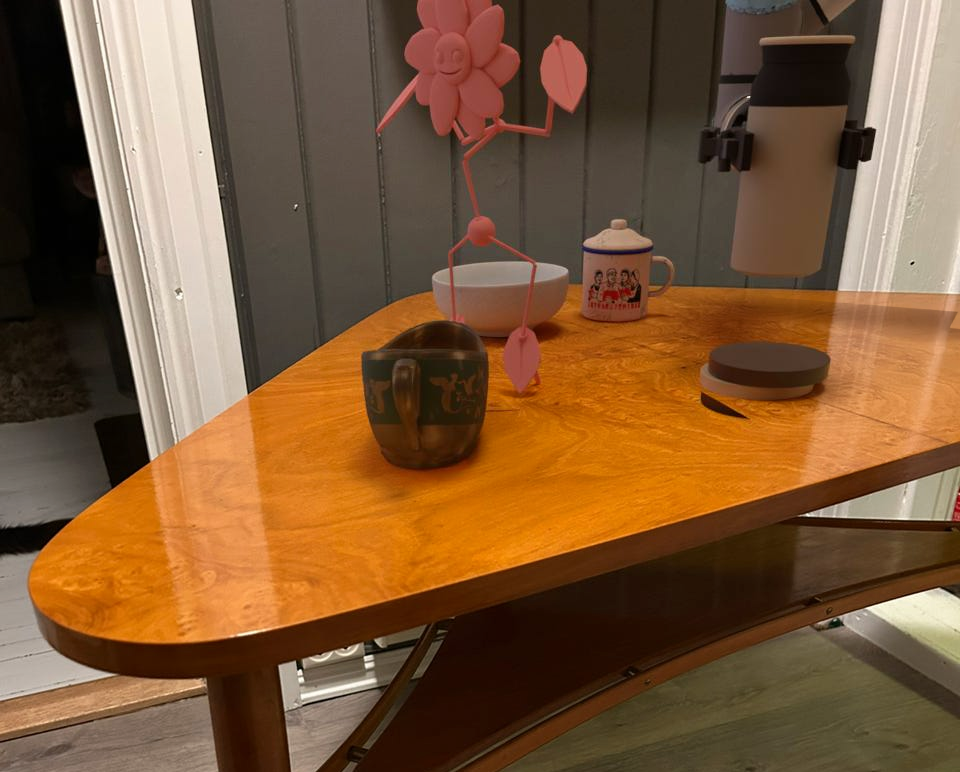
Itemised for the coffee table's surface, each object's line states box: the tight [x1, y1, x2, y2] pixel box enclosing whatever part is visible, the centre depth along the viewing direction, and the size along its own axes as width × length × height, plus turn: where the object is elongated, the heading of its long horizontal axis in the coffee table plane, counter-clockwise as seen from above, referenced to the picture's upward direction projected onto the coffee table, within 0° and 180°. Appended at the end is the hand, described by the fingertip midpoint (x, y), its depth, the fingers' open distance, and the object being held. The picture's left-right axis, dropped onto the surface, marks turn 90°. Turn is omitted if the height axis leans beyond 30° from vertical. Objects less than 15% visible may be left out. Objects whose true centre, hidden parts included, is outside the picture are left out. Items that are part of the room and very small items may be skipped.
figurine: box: [375, 0, 588, 413], centre depth 87 cm, size 15×26×35 cm, turn 48°
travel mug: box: [729, 34, 856, 279], centre depth 81 cm, size 8×8×18 cm
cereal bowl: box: [431, 261, 570, 338], centre depth 117 cm, size 17×17×7 cm
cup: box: [360, 319, 490, 471], centre depth 79 cm, size 13×20×10 cm, turn 147°
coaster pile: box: [698, 341, 832, 420], centre depth 89 cm, size 12×11×4 cm
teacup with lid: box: [581, 218, 675, 323], centre depth 121 cm, size 12×9×12 cm
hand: (800, 151), depth 76 cm, fingers closed on travel mug, 8 cm apart
